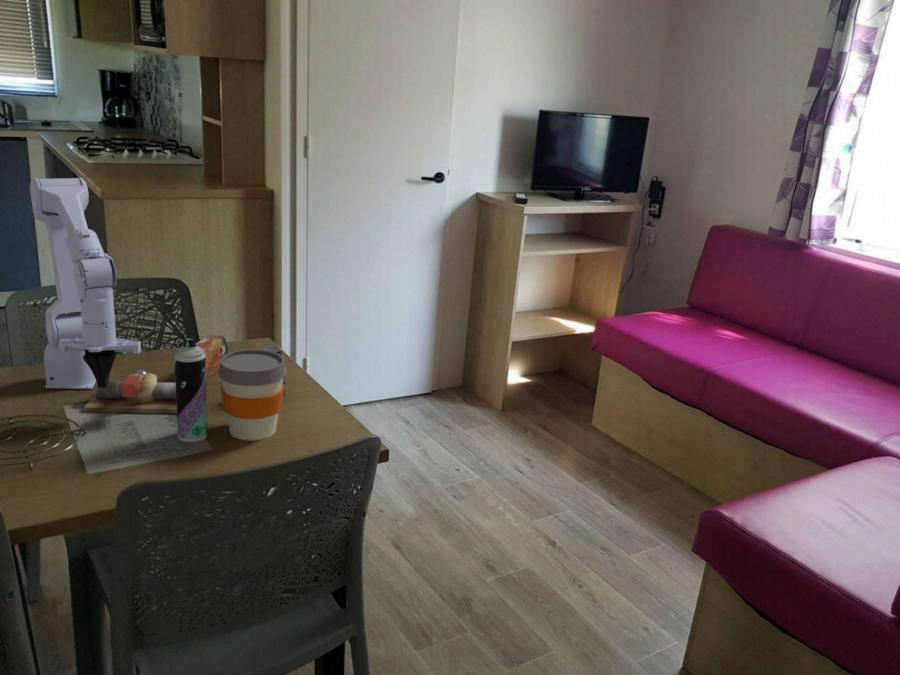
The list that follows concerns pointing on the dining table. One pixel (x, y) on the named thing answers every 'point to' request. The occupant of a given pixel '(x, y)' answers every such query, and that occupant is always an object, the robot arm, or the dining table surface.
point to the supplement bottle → (278, 351)
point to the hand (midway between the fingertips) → (103, 385)
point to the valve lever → (133, 384)
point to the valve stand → (135, 398)
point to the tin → (213, 352)
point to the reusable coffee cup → (252, 392)
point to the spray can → (191, 392)
